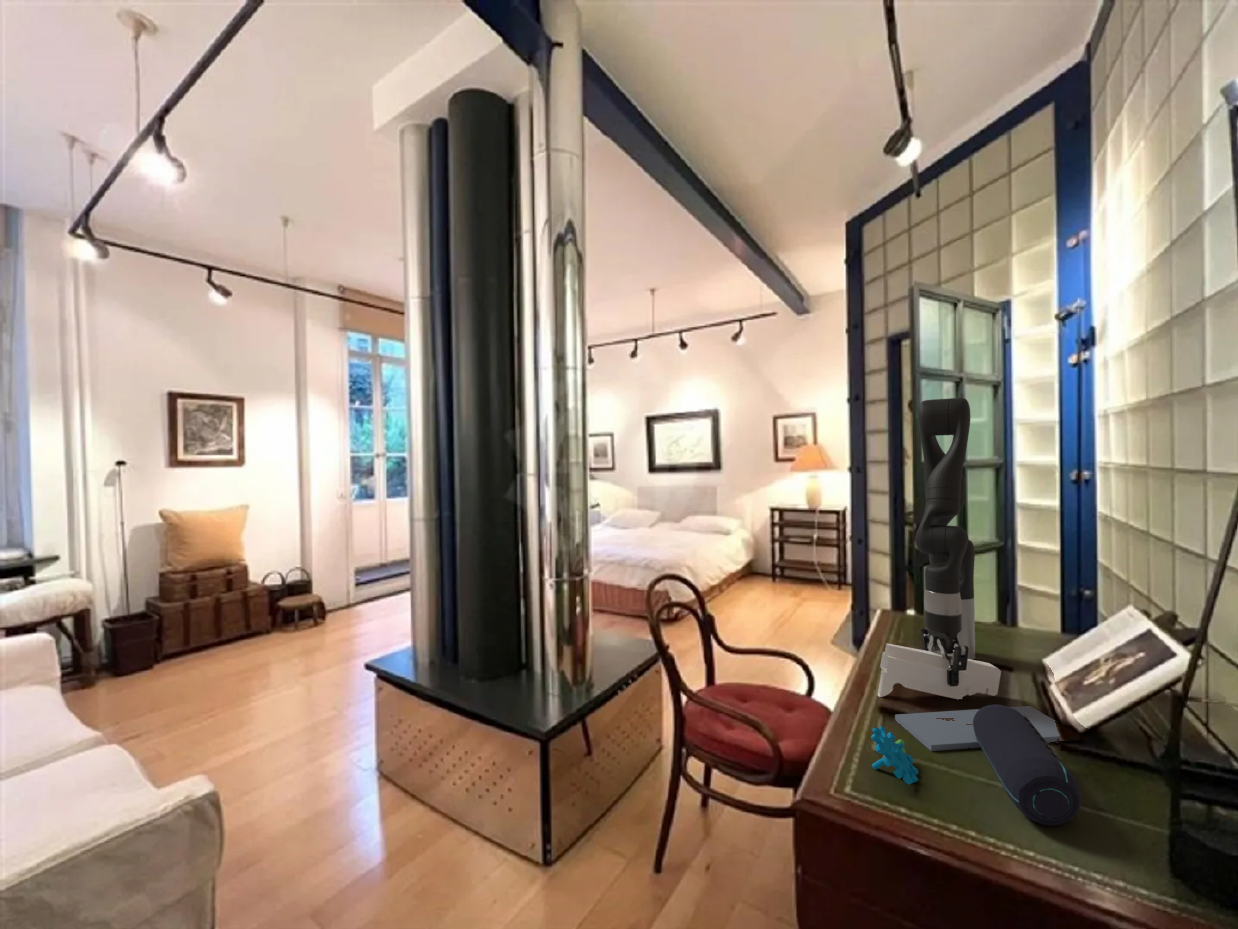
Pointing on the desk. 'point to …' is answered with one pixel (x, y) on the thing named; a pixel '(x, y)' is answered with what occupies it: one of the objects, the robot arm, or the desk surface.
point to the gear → (893, 755)
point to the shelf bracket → (934, 673)
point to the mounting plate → (964, 727)
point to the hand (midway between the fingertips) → (943, 679)
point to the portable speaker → (1027, 766)
